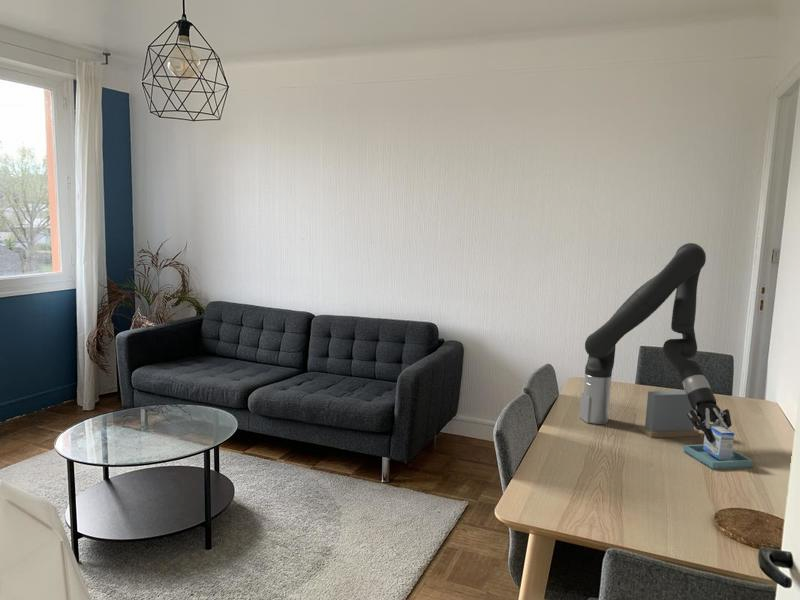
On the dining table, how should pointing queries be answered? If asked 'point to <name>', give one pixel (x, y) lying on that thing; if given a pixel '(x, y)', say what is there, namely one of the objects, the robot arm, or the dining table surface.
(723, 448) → the medicine box
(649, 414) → the slate unit
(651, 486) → the dining table surface
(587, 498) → the dining table surface
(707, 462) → the teal tray
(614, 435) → the dining table surface
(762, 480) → the dining table surface
